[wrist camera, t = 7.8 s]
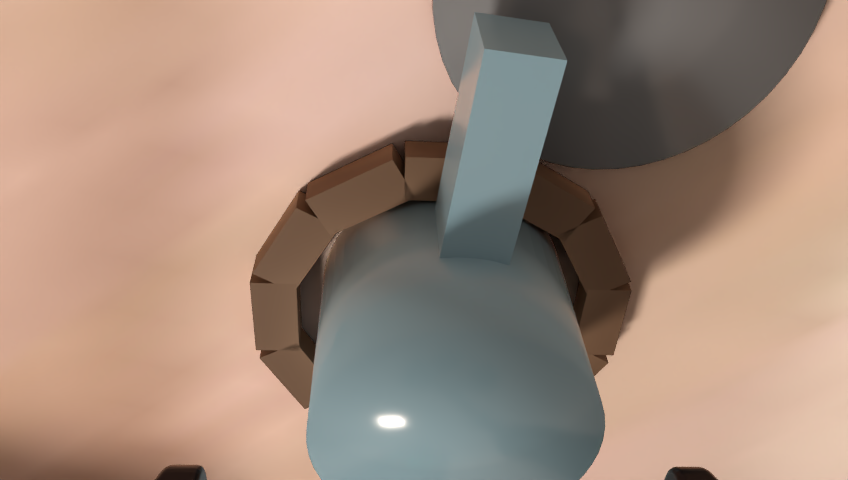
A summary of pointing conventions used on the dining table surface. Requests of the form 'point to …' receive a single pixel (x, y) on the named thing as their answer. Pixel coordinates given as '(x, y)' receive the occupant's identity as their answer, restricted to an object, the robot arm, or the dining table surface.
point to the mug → (460, 304)
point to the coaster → (646, 68)
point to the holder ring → (419, 180)
